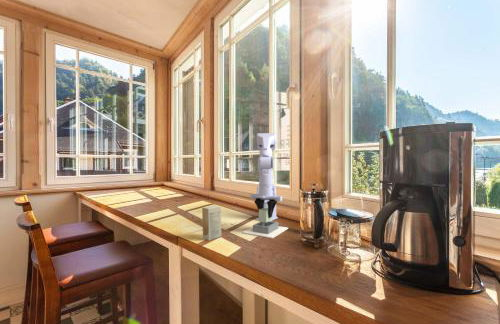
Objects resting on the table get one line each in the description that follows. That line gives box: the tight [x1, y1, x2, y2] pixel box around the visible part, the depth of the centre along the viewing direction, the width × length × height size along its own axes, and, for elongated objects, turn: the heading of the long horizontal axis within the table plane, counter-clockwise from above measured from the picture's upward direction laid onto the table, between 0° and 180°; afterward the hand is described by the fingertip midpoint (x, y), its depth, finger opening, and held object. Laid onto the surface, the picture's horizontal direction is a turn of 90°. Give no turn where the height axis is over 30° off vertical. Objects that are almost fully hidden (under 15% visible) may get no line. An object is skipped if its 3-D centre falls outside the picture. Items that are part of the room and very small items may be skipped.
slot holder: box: [241, 220, 289, 239], centre depth 108 cm, size 16×14×3 cm
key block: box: [258, 207, 274, 223], centre depth 108 cm, size 4×6×5 cm, turn 149°
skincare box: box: [201, 204, 222, 241], centre depth 99 cm, size 6×4×12 cm
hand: (265, 216), depth 108 cm, fingers closed on key block, 4 cm apart
